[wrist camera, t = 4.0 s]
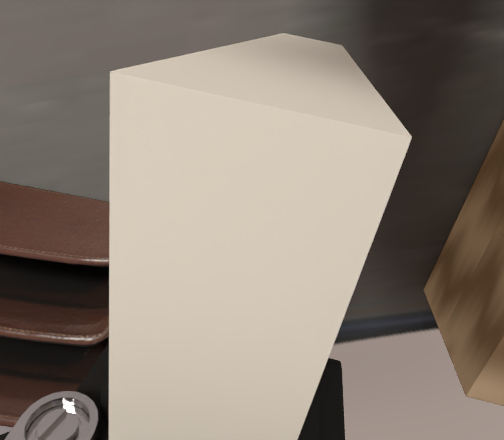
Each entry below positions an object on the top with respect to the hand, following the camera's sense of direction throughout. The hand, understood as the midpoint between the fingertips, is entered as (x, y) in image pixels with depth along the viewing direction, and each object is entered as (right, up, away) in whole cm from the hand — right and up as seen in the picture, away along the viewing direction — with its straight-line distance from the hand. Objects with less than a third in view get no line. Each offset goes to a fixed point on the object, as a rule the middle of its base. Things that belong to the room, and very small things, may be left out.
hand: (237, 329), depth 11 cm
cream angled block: (+2, +5, +9) cm, 10 cm away
